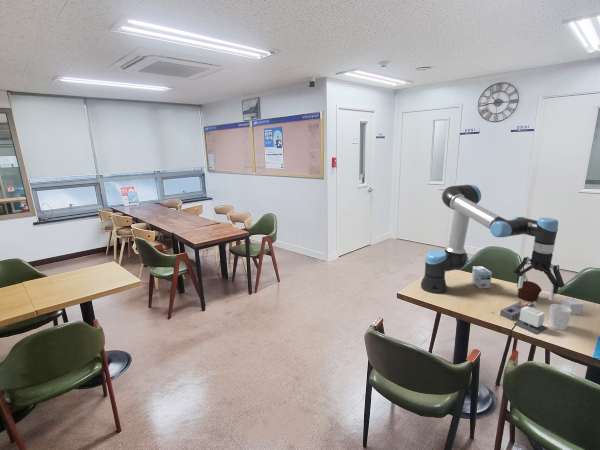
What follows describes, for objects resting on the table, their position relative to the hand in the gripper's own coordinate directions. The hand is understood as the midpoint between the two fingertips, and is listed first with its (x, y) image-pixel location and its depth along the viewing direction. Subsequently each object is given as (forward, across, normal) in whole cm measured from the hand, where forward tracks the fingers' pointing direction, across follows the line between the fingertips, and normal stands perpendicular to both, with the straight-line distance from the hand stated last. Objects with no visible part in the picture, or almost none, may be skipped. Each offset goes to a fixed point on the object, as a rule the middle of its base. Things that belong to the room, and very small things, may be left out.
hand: (535, 293), depth 152 cm
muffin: (+18, -16, +30) cm, 38 cm away
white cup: (+18, +7, +11) cm, 22 cm away
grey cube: (+18, +4, +33) cm, 38 cm away
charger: (+17, +1, 0) cm, 17 cm away
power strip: (+18, -10, +11) cm, 23 cm away
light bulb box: (+18, -41, +25) cm, 51 cm away
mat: (+17, +1, 0) cm, 17 cm away
